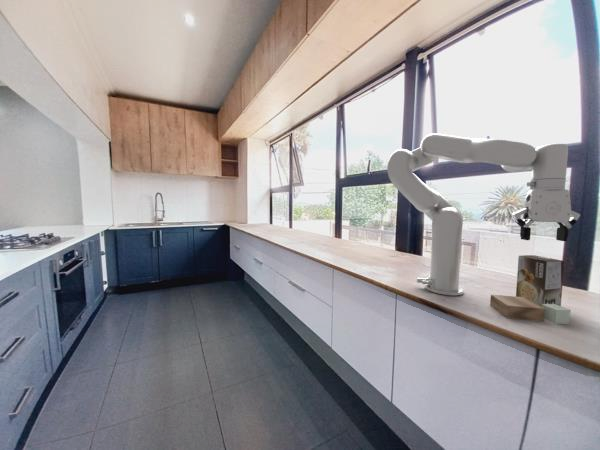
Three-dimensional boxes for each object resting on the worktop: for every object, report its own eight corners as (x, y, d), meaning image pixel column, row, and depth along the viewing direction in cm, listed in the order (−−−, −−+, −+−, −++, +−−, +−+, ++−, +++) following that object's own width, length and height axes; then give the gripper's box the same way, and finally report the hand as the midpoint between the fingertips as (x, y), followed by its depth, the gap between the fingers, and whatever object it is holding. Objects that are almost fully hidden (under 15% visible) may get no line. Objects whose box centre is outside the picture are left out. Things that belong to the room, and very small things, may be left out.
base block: (506, 318, 70) (507, 305, 70) (490, 306, 79) (490, 294, 78) (543, 322, 68) (545, 308, 68) (522, 309, 77) (523, 297, 76)
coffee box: (562, 312, 74) (566, 260, 73) (542, 313, 73) (547, 261, 72) (530, 301, 83) (534, 254, 82) (513, 301, 82) (517, 255, 81)
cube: (555, 324, 67) (557, 309, 66) (540, 317, 71) (541, 304, 70) (569, 323, 67) (570, 309, 67) (553, 317, 71) (554, 303, 71)
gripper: (523, 185, 73) (519, 240, 74) (593, 184, 70) (587, 242, 71) (507, 187, 81) (504, 237, 82) (570, 186, 77) (565, 239, 78)
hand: (543, 240), depth 76 cm, fingers open, 9 cm apart
